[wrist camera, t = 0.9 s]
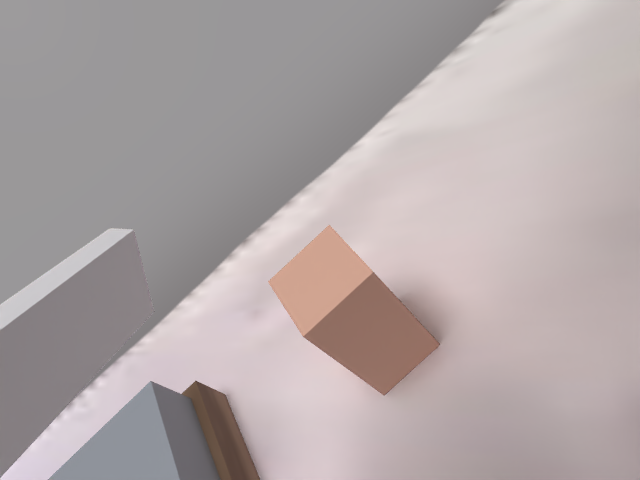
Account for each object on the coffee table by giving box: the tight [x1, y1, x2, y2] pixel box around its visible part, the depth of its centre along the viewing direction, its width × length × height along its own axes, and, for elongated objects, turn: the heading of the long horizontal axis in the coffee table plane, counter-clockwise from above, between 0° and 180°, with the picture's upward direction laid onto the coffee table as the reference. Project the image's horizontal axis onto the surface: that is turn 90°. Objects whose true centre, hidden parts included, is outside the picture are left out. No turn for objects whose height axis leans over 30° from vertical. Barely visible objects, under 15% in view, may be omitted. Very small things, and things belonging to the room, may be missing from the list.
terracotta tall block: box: [268, 225, 440, 395], centre depth 31 cm, size 5×5×10 cm
